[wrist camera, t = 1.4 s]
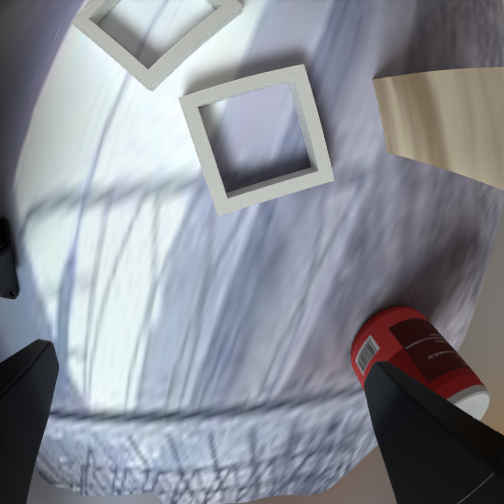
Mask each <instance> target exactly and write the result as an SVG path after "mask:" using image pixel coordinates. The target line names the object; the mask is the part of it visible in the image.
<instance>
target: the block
mask: <svg viewBox="0 0 504 504" xmlns="http://www.w3.org/2000/svg"><path fill="white" fill-rule="evenodd" d="M373 84H374V88H375V92H376V97H377V101H378V105H379V110H380V115H381V120H382V125H383V130H384V135H385V141H386V147H387V153H391V154H395V155H398V156H402V157H406V158H409V159H413V160H416V161H420V162H423V163H426V164H430V165H433V166H436V167H439V168H442V169H445V170H449V171H452V172H455V173H458V174H461V175H463V176H466V177H469V178H472V179H475V180H478V181H480V182H483V183H486V184H488V185H491V186H494V187H496V188H499V189H501V190H504V67H485V68H464V69H450V70H439V71H429V72H420V73H412V74H405V75H398V76H391V77H385V78H379V79H373Z"/></svg>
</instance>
